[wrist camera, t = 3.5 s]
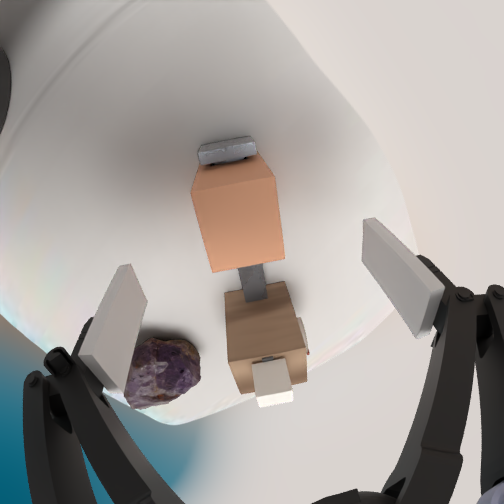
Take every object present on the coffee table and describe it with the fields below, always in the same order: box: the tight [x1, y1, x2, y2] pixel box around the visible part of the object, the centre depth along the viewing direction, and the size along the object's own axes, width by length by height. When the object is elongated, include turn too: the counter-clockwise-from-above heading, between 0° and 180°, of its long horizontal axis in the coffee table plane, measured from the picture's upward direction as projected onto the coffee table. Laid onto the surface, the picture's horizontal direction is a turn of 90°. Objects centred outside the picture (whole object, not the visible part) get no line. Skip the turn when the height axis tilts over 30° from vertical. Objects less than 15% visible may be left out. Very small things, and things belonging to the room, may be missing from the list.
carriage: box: [191, 152, 285, 273], centre depth 22 cm, size 6×5×9 cm
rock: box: [124, 338, 201, 410], centre depth 33 cm, size 12×9×10 cm
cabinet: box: [224, 281, 309, 394], centre depth 29 cm, size 6×8×10 cm
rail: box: [198, 136, 268, 303], centre depth 26 cm, size 18×4×4 cm, turn 9°
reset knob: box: [252, 358, 294, 407], centre depth 23 cm, size 2×3×4 cm, turn 99°
